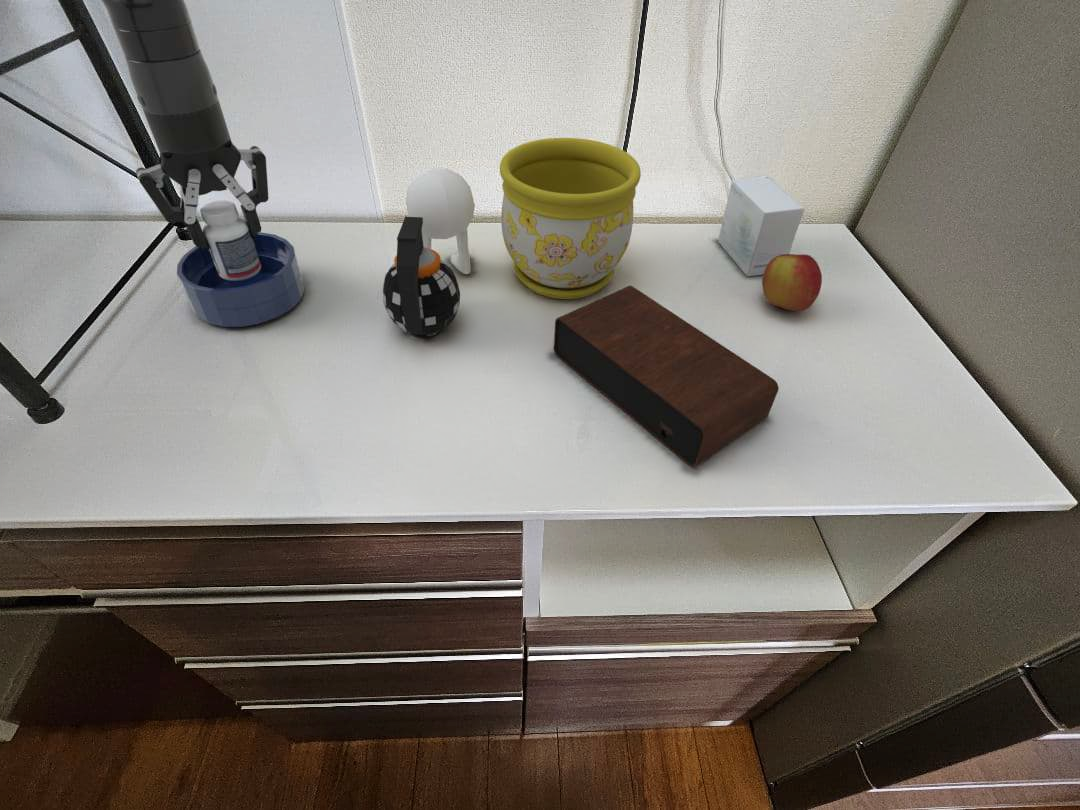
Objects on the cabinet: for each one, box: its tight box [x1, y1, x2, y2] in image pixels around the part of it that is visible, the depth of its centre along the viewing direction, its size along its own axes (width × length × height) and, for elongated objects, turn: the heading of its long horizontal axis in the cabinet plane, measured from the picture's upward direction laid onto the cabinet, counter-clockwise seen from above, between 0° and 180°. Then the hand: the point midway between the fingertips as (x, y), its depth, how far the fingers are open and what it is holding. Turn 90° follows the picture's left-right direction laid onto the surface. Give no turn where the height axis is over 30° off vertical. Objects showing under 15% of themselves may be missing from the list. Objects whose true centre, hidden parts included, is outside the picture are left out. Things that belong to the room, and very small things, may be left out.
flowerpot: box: [499, 137, 642, 300], centre depth 85 cm, size 18×18×16 cm
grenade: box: [382, 216, 461, 339], centre depth 75 cm, size 11×10×15 cm
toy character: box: [405, 167, 476, 275], centre depth 86 cm, size 9×9×15 cm
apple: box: [761, 253, 823, 313], centre depth 84 cm, size 8×8×8 cm
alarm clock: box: [553, 285, 780, 468], centre depth 72 cm, size 24×12×6 cm, turn 38°
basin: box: [176, 231, 305, 328], centre depth 83 cm, size 14×14×6 cm
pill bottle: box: [199, 199, 261, 281], centre depth 79 cm, size 5×5×9 cm
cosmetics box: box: [717, 174, 805, 277], centre depth 92 cm, size 10×6×10 cm, turn 13°
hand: (229, 240), depth 79 cm, fingers closed on pill bottle, 5 cm apart
